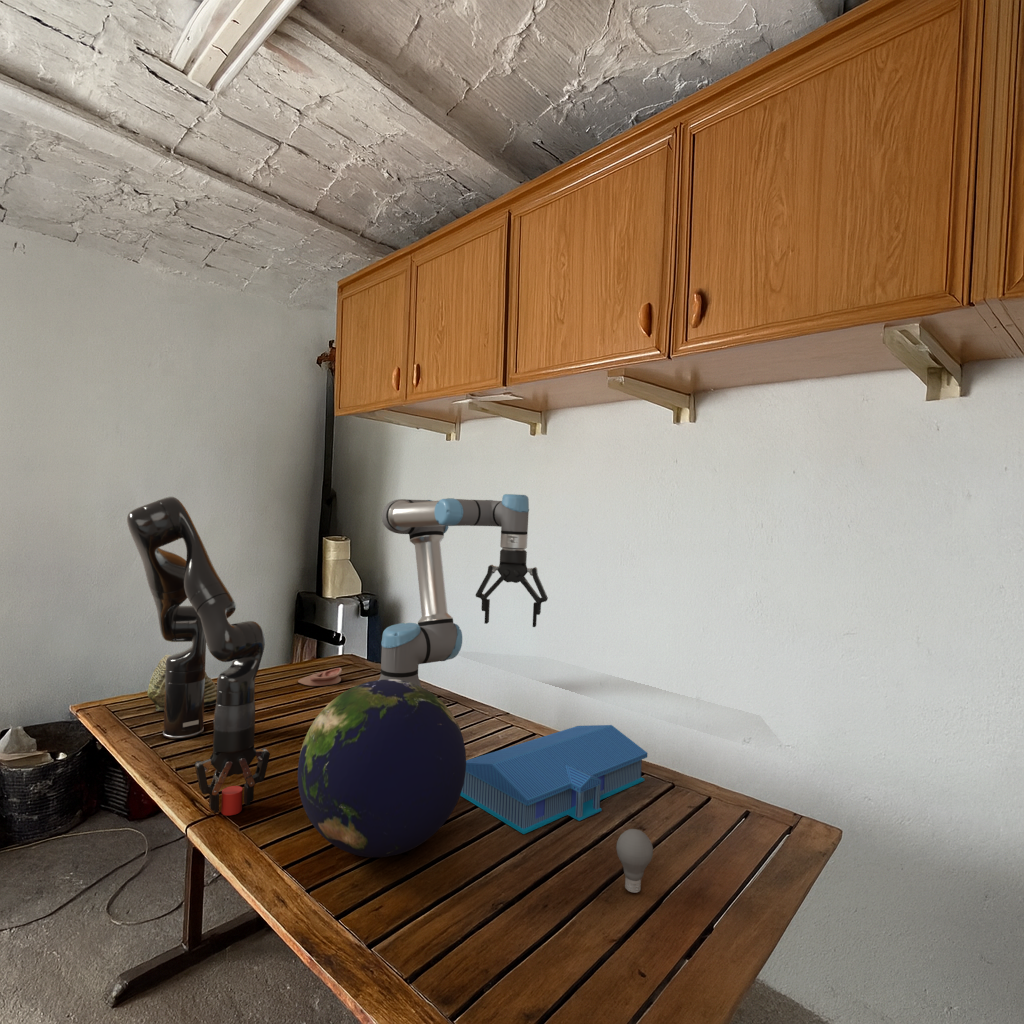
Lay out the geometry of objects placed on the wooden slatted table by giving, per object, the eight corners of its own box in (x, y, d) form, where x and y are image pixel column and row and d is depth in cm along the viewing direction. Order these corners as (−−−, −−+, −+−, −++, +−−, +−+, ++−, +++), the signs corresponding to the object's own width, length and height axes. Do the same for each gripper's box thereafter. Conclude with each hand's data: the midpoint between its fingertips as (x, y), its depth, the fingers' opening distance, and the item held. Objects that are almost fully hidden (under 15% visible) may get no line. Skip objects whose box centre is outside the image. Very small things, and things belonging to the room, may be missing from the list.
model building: (535, 841, 120) (537, 789, 119) (456, 793, 138) (458, 747, 137) (656, 785, 146) (658, 742, 146) (576, 751, 164) (578, 712, 164)
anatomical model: (293, 672, 210) (311, 663, 221) (292, 684, 210) (310, 675, 221) (330, 676, 207) (346, 667, 219) (329, 688, 208) (345, 678, 219)
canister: (237, 816, 124) (238, 794, 124) (217, 815, 124) (218, 794, 124) (244, 806, 128) (245, 785, 128) (225, 806, 128) (226, 785, 128)
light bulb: (610, 879, 108) (613, 822, 108) (644, 879, 109) (647, 822, 109) (619, 902, 102) (622, 840, 102) (655, 901, 103) (658, 840, 103)
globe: (256, 866, 108) (262, 691, 107) (361, 794, 135) (366, 654, 135) (408, 917, 96) (416, 722, 96) (488, 827, 124) (495, 675, 123)
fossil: (144, 707, 182) (145, 655, 182) (212, 696, 194) (213, 647, 194) (151, 716, 175) (153, 662, 175) (221, 703, 188) (223, 653, 188)
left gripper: (199, 736, 119) (196, 825, 119) (277, 722, 127) (274, 805, 128) (190, 724, 125) (188, 809, 125) (266, 711, 133) (263, 791, 134)
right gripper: (467, 547, 176) (464, 623, 176) (556, 552, 172) (553, 630, 173) (472, 546, 183) (469, 619, 184) (558, 550, 180) (555, 625, 180)
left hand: (231, 807), depth 126 cm, fingers open, 5 cm apart
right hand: (510, 624), depth 178 cm, fingers open, 13 cm apart
